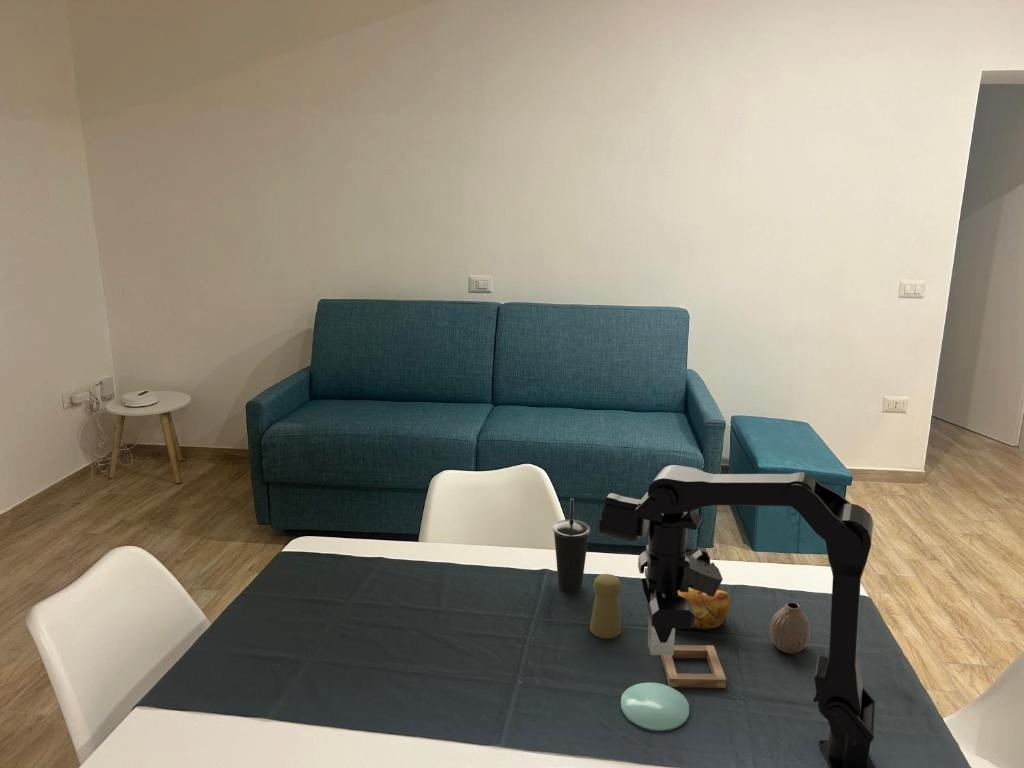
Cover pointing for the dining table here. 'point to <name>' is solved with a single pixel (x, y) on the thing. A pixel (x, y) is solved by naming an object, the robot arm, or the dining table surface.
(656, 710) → the teal coaster
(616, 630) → the wooden pepper shaker
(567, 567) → the drinking cup
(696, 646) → the walnut collar
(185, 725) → the dining table surface
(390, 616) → the dining table surface
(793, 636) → the vase
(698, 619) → the bread roll
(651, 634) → the steel bar
